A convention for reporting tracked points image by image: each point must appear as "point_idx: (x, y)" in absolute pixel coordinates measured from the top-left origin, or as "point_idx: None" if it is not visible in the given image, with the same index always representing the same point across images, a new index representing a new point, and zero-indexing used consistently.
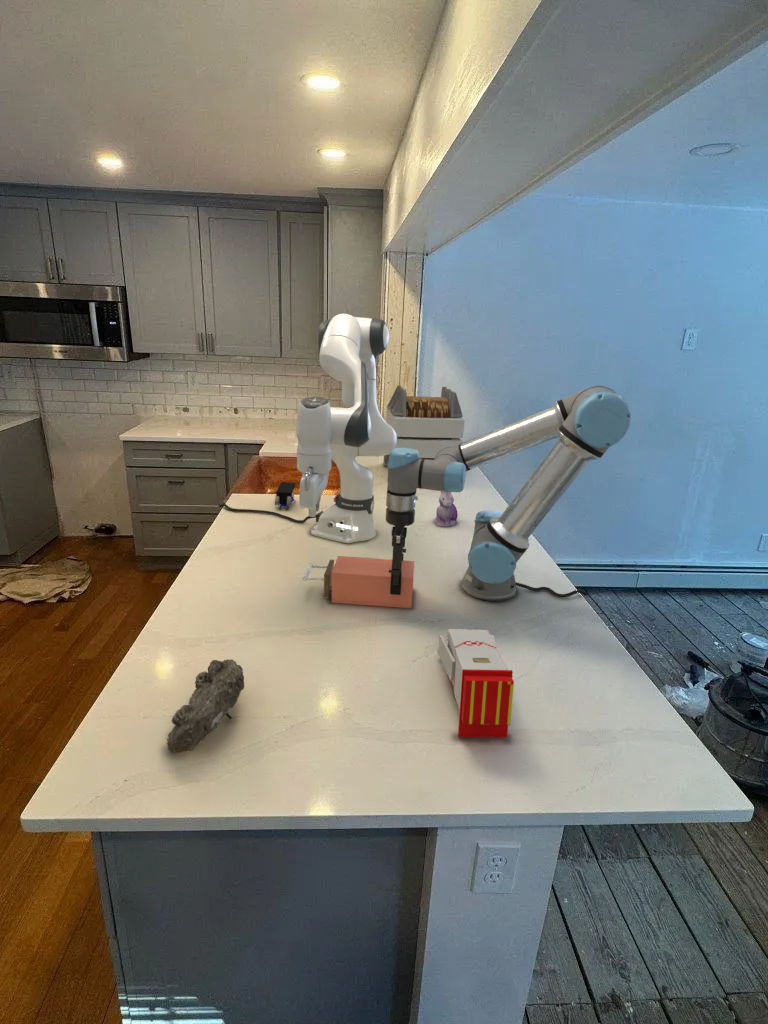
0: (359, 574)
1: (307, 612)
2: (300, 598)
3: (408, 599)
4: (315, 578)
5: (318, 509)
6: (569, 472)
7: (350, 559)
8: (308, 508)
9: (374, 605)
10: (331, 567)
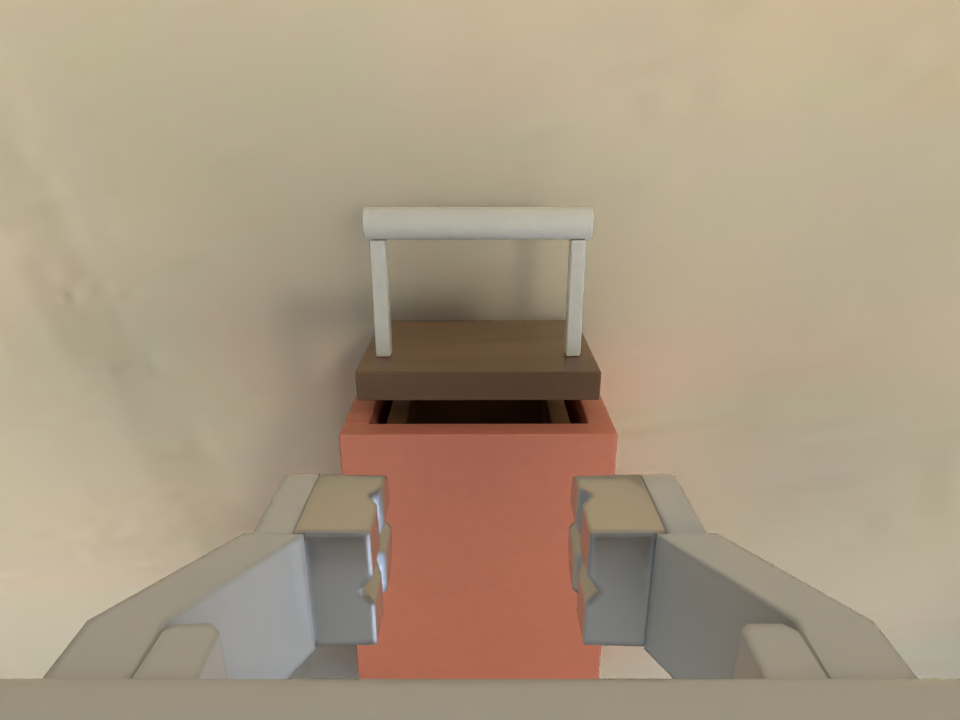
0: None
1: (241, 252)
2: (384, 180)
3: None
4: (375, 299)
5: (576, 587)
6: None
7: (564, 518)
8: (189, 571)
9: None
10: (478, 399)
